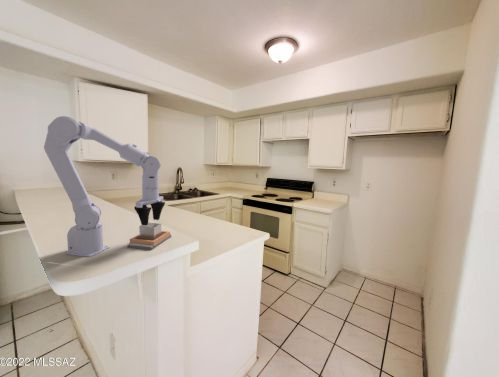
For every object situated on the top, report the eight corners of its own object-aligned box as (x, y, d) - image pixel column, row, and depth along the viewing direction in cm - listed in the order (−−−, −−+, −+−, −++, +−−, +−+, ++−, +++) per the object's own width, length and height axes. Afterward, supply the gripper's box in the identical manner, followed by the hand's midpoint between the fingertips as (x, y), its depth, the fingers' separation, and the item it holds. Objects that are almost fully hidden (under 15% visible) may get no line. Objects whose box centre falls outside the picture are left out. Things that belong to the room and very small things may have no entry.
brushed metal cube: (139, 241, 80) (139, 226, 79) (147, 236, 85) (147, 222, 84) (154, 242, 79) (153, 227, 78) (161, 238, 84) (161, 223, 83)
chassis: (127, 247, 76) (127, 240, 75) (150, 234, 89) (150, 228, 89) (151, 249, 74) (151, 242, 74) (171, 236, 88) (171, 230, 88)
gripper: (148, 190, 72) (148, 228, 73) (170, 186, 86) (169, 218, 87) (130, 189, 72) (130, 226, 74) (154, 185, 87) (154, 216, 88)
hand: (150, 222), depth 81 cm, fingers open, 7 cm apart
